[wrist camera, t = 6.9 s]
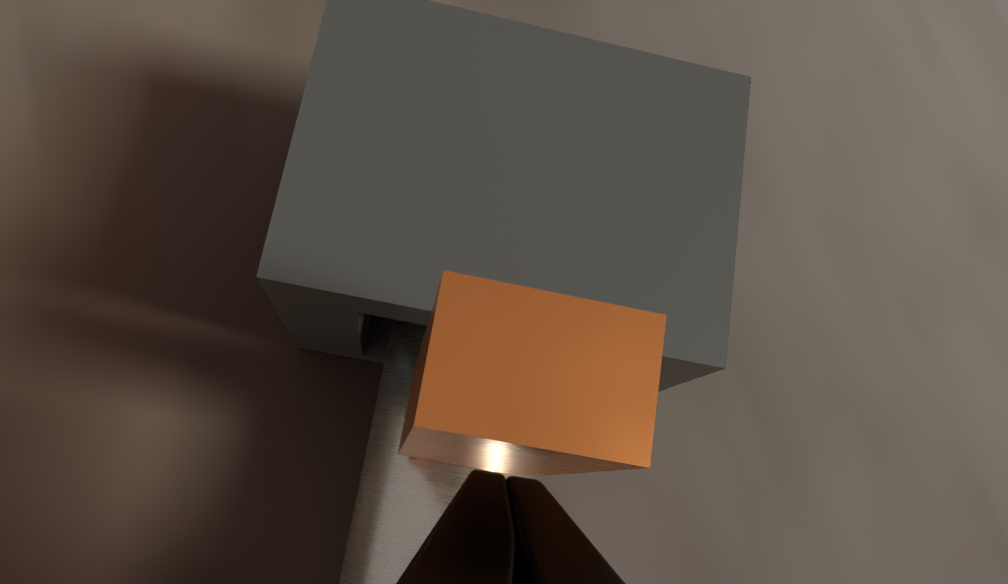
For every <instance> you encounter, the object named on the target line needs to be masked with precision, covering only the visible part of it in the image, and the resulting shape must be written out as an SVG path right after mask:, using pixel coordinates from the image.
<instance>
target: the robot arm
mask: <svg viewBox="0 0 1008 584" xmlns="http://www.w3.org/2000/svg"><path fill="white" fill-rule="evenodd" d="M396 584H625V583H624V582H623V580H622V579H621V578H620V577H619V576H618V574H617V573H616V572H615V571H614V569H613V568H612V567H611V566H610V565H609V563H608V562H607V561H606V560H605V559H604V557H603V556H602V555H601V554H600V553H599V551H598V550H597V549H596V548H595V547H594V545H593V544H592V543H591V542H590V540H589V539H588V538H587V537H586V536H585V534H584V533H583V532H582V531H581V530H580V528H579V527H578V526H577V525H576V524H575V522H574V521H573V520H572V519H571V518H570V516H569V515H568V514H567V513H566V511H565V510H564V509H563V508H562V507H561V505H560V504H559V503H558V502H557V501H556V499H555V498H554V497H553V496H552V495H551V493H550V492H549V491H548V490H547V489H546V487H545V486H544V485H543V484H542V483H541V482H540V481H539V480H536V479H531V478H525V477H519V476H513V475H512V476H508V477H507V478H505V476H504V475H503V474H501V473H496V472H490V471H484V470H478V469H475V470H472V471H471V472H470V474H469V475H468V477H467V478H466V480H465V481H464V483H463V484H462V486H461V487H460V489H459V490H458V492H457V493H456V495H455V496H454V497H453V499H452V500H451V502H450V503H449V505H448V506H447V508H446V509H445V511H444V512H443V514H442V515H441V517H440V518H439V520H438V521H437V523H436V524H435V526H434V527H433V529H432V530H431V532H430V533H429V535H428V536H427V538H426V539H425V541H424V542H423V544H422V545H421V547H420V548H419V550H418V551H417V553H416V554H415V556H414V557H413V559H412V560H411V562H410V563H409V565H408V566H407V568H406V569H405V571H404V572H403V574H402V575H401V577H400V578H399V580H398V581H397V583H396Z"/></svg>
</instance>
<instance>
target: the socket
mask: <svg viewBox="0 0 1008 584" xmlns="http://www.w3.org/2000/svg"><path fill="white" fill-rule="evenodd" d="M750 83H751V77H748V76H744V75H740V74H736V73H732V72H727V71H723V70H719V69H715V68H711V67H706V66H702V65H698V64H694V63H690V62H685V61H681V60H677V59H673V58H668V57H664V56H660V55H656V54H652V53H647V52H643V51H639V50H635V49H631V48H626V47H622V46H618V45H614V44H610V43H605V42H601V41H597V40H593V39H589V38H584V37H580V36H576V35H572V34H568V33H563V32H559V31H555V30H551V29H547V28H542V27H538V26H534V25H530V24H525V23H521V22H517V21H513V20H509V19H504V18H500V17H496V16H492V15H488V14H483V13H479V12H475V11H471V10H467V9H462V8H458V7H454V6H450V5H446V4H441V3H437V2H433V1H429V0H327V4H326V8H325V11H324V15H323V19H322V23H321V27H320V31H319V35H318V39H317V42H316V46H315V50H314V54H313V58H312V62H311V66H310V70H309V74H308V77H307V81H306V85H305V89H304V93H303V97H302V101H301V105H300V108H299V112H298V116H297V120H296V124H295V128H294V132H293V136H292V139H291V143H290V147H289V151H288V155H287V159H286V163H285V167H284V170H283V174H282V178H281V182H280V186H279V190H278V194H277V198H276V201H275V205H274V209H273V213H272V217H271V221H270V225H269V229H268V232H267V236H266V240H265V244H264V248H263V252H262V256H261V260H260V263H259V267H258V271H257V275H256V278H257V280H258V281H259V283H260V285H261V286H262V288H263V290H264V292H265V293H266V295H267V297H268V299H269V300H270V302H271V304H272V305H273V307H274V309H275V311H276V312H277V314H278V316H279V317H280V319H281V321H282V323H283V324H284V326H285V328H286V329H287V331H288V333H289V335H290V336H291V338H292V340H293V341H294V343H295V345H296V347H297V348H302V349H307V350H313V351H318V352H324V353H329V354H334V355H340V356H345V357H350V358H356V359H361V360H367V361H372V362H377V363H383V364H384V362H385V358H386V353H387V348H388V343H389V338H390V333H391V328H392V324H393V319H395V320H400V321H406V322H411V323H416V324H421V325H426V326H427V324H428V320H429V317H430V314H431V310H432V307H433V303H434V300H435V297H436V293H437V290H438V287H439V283H440V280H441V276H442V273H443V270H445V271H450V272H455V273H460V274H465V275H470V276H475V277H480V278H485V279H490V280H495V281H500V282H505V283H510V284H515V285H520V286H525V287H530V288H535V289H540V290H545V291H550V292H555V293H560V294H565V295H570V296H575V297H580V298H585V299H590V300H595V301H600V302H605V303H610V304H615V305H620V306H625V307H630V308H635V309H640V310H645V311H650V312H655V313H660V314H665V315H667V316H666V325H665V334H664V343H663V353H662V362H661V371H660V380H659V389H658V391H661V390H664V389H667V388H670V387H673V386H676V385H679V384H682V383H684V382H687V381H690V380H693V379H696V378H699V377H702V376H705V375H708V374H711V373H713V372H716V371H719V370H722V369H725V368H726V357H727V345H728V334H729V323H730V311H731V300H732V288H733V277H734V265H735V254H736V243H737V231H738V220H739V208H740V197H741V185H742V174H743V163H744V151H745V140H746V128H747V117H748V106H749V94H750Z"/></svg>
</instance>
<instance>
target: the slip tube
mask: <svg viewBox="0 0 1008 584" xmlns="http://www.w3.org/2000/svg"><path fill="white" fill-rule="evenodd" d="M666 316H667V315H665V314H660V313H655V312H650V311H645V310H640V309H635V308H630V307H625V306H620V305H615V304H610V303H605V302H600V301H595V300H590V299H585V298H580V297H575V296H570V295H565V294H560V293H555V292H550V291H545V290H540V289H535V288H530V287H525V286H520V285H515V284H510V283H505V282H500V281H495V280H490V279H485V278H480V277H475V276H470V275H465V274H460V273H455V272H450V271H445V270H443V273H442V276H441V280H440V283H439V287H438V290H437V293H436V297H435V300H434V303H433V307H432V310H431V314H430V317H429V320H428V324H427V326H426V325H421V324H416V323H411V322H406V321H400V320H395V319H393V324H392V328H391V333H390V338H389V343H388V348H387V353H386V358H385V362H384V367H383V372H382V377H381V382H380V387H379V392H378V396H377V401H376V406H375V411H374V416H373V421H372V426H371V430H370V435H369V440H368V445H367V450H366V455H365V460H364V464H363V469H362V474H361V479H360V484H359V489H358V494H357V498H356V503H355V508H354V513H353V518H352V523H351V528H350V532H349V537H348V542H347V547H346V552H345V557H344V562H343V566H342V571H341V576H340V581H339V584H396V583H397V581H398V580H399V578H400V577H401V575H402V574H403V572H404V571H405V569H406V568H407V566H408V565H409V563H410V562H411V560H412V559H413V557H414V556H415V554H416V553H417V551H418V550H419V548H420V547H421V545H422V544H423V542H424V541H425V539H426V538H427V536H428V535H429V533H430V532H431V530H432V529H433V527H434V526H435V524H436V523H437V521H438V520H439V518H440V517H441V515H442V514H443V512H444V511H445V509H446V508H447V506H448V505H449V503H450V502H451V500H452V499H453V497H454V496H455V495H456V493H457V492H458V490H459V489H460V487H461V486H462V484H463V483H464V481H465V480H466V478H467V477H468V475H469V474H470V472H471V471H472V470H475V469H478V470H484V471H490V472H496V473H501V474H503V475H504V476H505V478H507V477H508V476H512V475H513V476H519V477H525V478H531V479H536V480H539V481H540V482H541V483H542V478H543V476H546V475H560V474H573V473H587V472H600V471H614V470H627V469H641V468H650V462H651V453H652V444H653V434H654V425H655V416H656V407H657V398H658V389H659V380H660V371H661V362H662V353H663V343H664V334H665V325H666Z"/></svg>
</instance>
